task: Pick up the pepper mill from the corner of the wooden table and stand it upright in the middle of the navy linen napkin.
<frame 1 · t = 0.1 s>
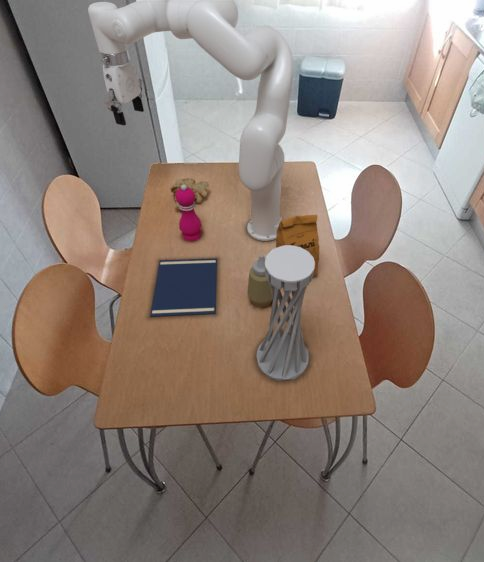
hand: (130, 117, 121), 31 cm above the table, tool pointing down, fingers open, 9 cm apart
pepper mill: (192, 235, 132), on the table
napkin: (186, 286, 117), on the table
ginger root: (188, 198, 146), on the table
squeeze bottle: (261, 300, 114), on the table
coffee package: (295, 273, 122), on the table
twisted lattice pedestal: (282, 357, 101), on the table
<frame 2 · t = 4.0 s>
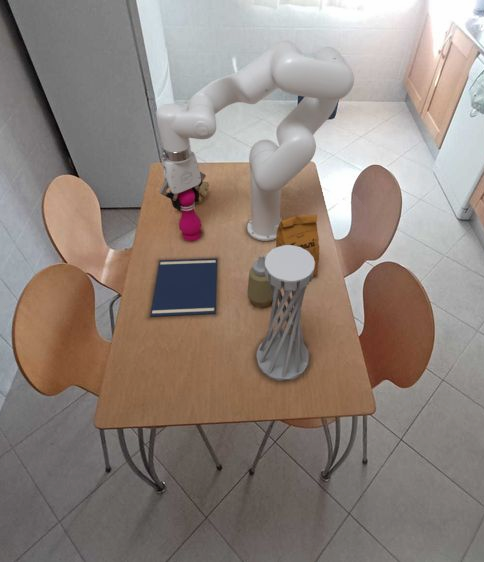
hand: (186, 203, 122), 13 cm above the table, tool pointing down, fingers closed on pepper mill, 6 cm apart
pepper mill: (192, 235, 132), on the table, touching gripper
everything else where it was.
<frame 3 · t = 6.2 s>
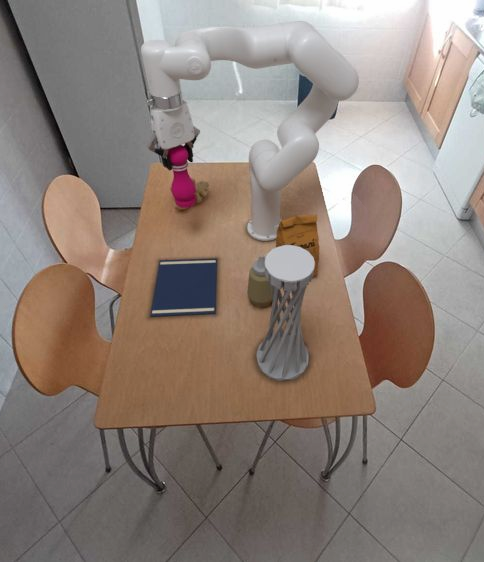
hand: (178, 163, 109), 28 cm above the table, tool pointing down, fingers closed on pepper mill, 6 cm apart
pepper mill: (186, 202, 119), point 15 cm above the table, touching gripper
everything else where it was.
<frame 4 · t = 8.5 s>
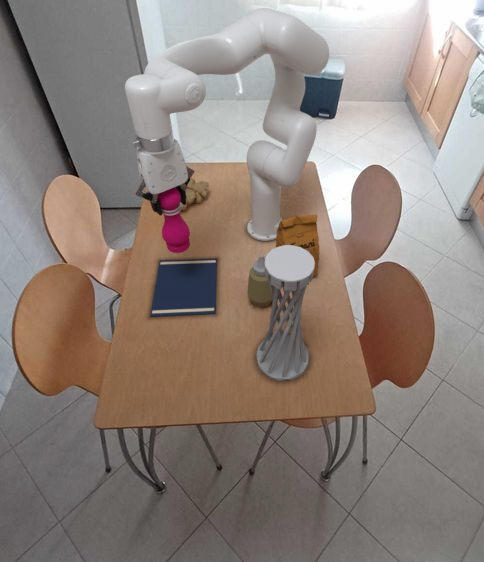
hand: (170, 206, 97), 28 cm above the table, tool pointing down, fingers closed on pepper mill, 6 cm apart
pepper mill: (178, 245, 107), point 15 cm above the table, touching gripper
everything else where it was.
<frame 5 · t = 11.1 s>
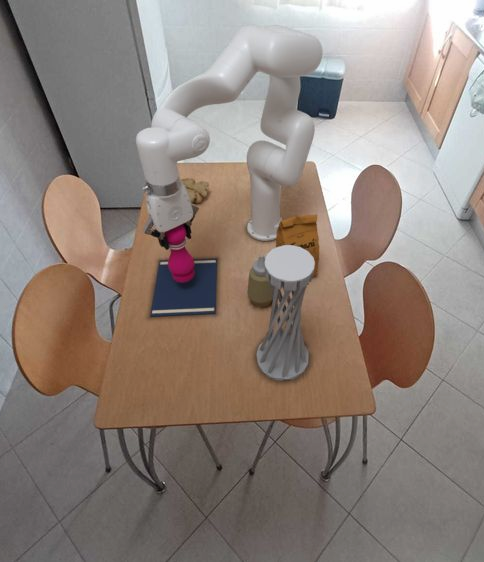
hand: (176, 241, 103), 18 cm above the table, tool pointing down, fingers closed on pepper mill, 6 cm apart
pepper mill: (183, 275, 113), point 5 cm above the table, touching gripper
everything else where it was.
when the fingers open (13 cm above the table, at t = 12.9 s): pepper mill stays where it is, resting on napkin.
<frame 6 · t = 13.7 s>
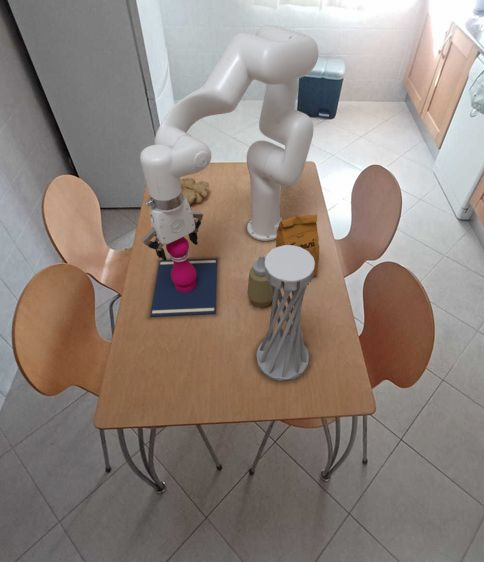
hand: (178, 249, 106), 15 cm above the table, tool pointing down, fingers open, 9 cm apart
pepper mill: (186, 285, 117), resting on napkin
everything else where it was.
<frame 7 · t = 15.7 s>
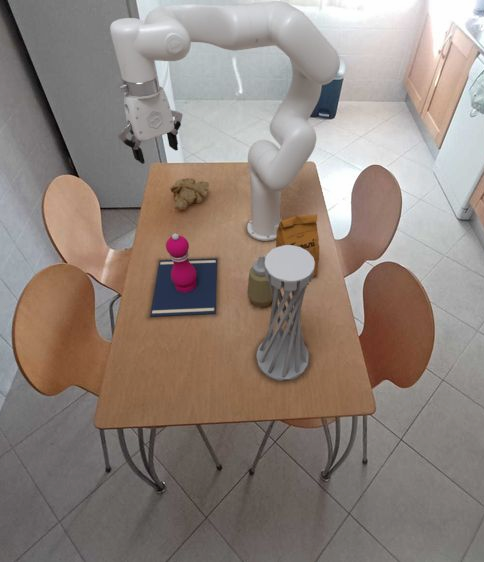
hand: (157, 154, 100), 35 cm above the table, tool pointing down, fingers open, 9 cm apart
nothing on the table moved.
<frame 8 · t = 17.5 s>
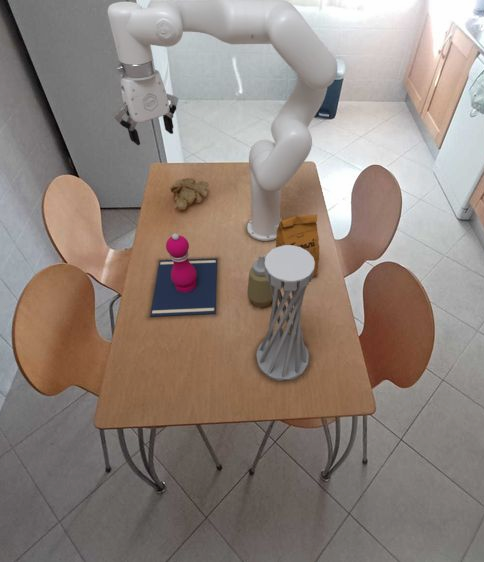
hand: (153, 137, 103), 36 cm above the table, tool pointing down, fingers open, 9 cm apart
nothing on the table moved.
at the end: pepper mill inside the target area on the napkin (0.1 cm from its centre), point 0.2 cm above the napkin's base; pepper mill tilted 0°; pepper mill touching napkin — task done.
